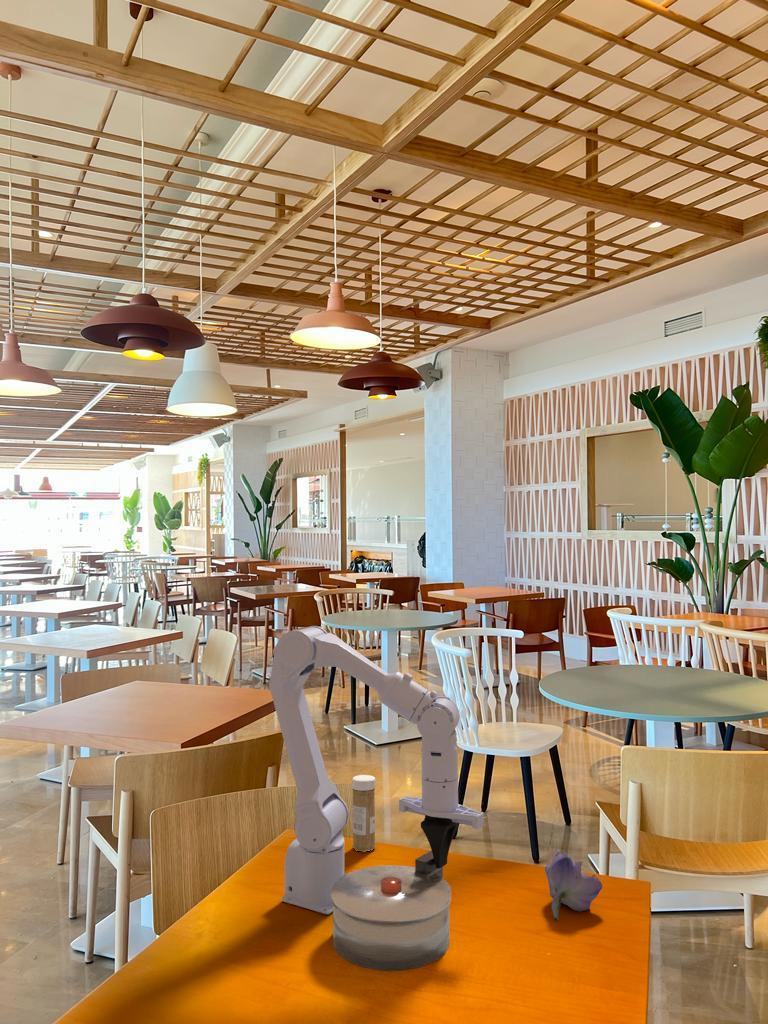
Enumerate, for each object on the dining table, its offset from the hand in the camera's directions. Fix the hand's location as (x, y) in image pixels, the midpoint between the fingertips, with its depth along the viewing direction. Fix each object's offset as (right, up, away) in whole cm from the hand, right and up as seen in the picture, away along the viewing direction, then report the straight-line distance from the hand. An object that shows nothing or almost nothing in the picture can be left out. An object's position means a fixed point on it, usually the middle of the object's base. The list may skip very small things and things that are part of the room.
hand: (440, 866), depth 117 cm
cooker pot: (-6, -7, -5) cm, 11 cm away
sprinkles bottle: (-13, -10, +27) cm, 31 cm away
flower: (+20, -8, +1) cm, 22 cm away
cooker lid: (-6, -1, -6) cm, 8 cm away
